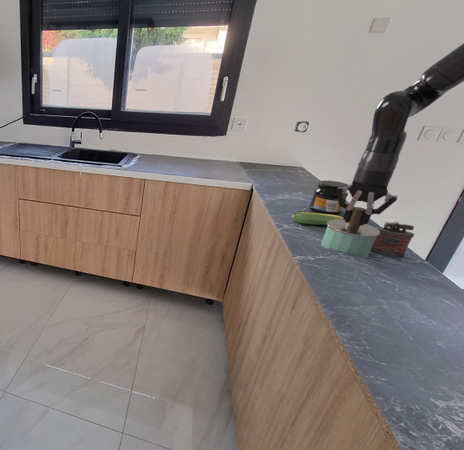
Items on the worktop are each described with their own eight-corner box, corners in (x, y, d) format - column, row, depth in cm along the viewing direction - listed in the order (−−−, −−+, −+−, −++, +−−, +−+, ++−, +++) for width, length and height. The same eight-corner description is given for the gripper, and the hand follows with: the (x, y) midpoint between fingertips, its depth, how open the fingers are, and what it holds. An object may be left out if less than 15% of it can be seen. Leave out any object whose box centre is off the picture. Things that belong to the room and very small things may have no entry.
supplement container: (331, 218, 122) (341, 188, 117) (302, 209, 131) (311, 182, 126) (346, 213, 126) (357, 185, 121) (318, 205, 135) (327, 178, 130)
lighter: (369, 251, 97) (381, 222, 93) (367, 247, 100) (379, 218, 96) (405, 258, 93) (419, 228, 89) (402, 253, 95) (416, 224, 91)
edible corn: (288, 219, 121) (292, 208, 119) (352, 225, 115) (356, 214, 113) (292, 224, 117) (296, 213, 115) (358, 231, 110) (363, 219, 109)
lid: (381, 230, 95) (391, 208, 92) (375, 243, 88) (385, 220, 85) (330, 219, 104) (338, 199, 101) (321, 230, 96) (329, 208, 93)
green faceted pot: (370, 250, 98) (379, 228, 95) (364, 263, 91) (374, 240, 88) (325, 238, 106) (332, 218, 103) (317, 249, 99) (324, 228, 96)
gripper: (412, 169, 85) (387, 226, 92) (346, 161, 95) (328, 213, 102) (410, 174, 80) (384, 233, 87) (341, 165, 90) (322, 220, 97)
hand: (354, 222), depth 95 cm, fingers closed on lid, 3 cm apart
